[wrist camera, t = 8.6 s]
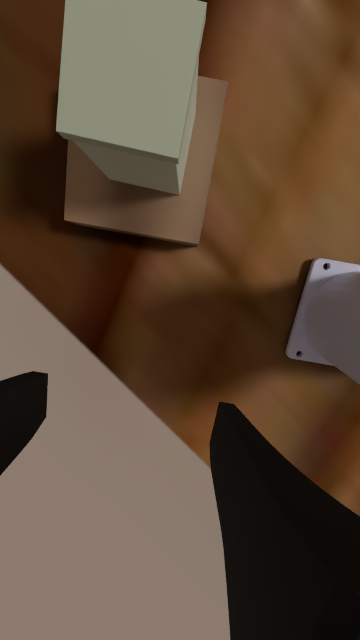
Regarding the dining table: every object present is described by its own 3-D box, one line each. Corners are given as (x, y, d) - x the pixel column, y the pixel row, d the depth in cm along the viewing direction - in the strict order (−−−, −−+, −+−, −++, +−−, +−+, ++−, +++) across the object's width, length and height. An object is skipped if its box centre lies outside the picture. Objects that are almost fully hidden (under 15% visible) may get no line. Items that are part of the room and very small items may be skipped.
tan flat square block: (221, 112, 17) (228, 81, 14) (197, 246, 19) (198, 244, 16) (93, 88, 17) (72, 52, 14) (83, 226, 19) (63, 219, 16)
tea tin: (198, 110, 14) (206, 3, 8) (181, 198, 15) (177, 158, 9) (118, 92, 14) (68, -31, 8) (107, 181, 15) (56, 130, 9)
